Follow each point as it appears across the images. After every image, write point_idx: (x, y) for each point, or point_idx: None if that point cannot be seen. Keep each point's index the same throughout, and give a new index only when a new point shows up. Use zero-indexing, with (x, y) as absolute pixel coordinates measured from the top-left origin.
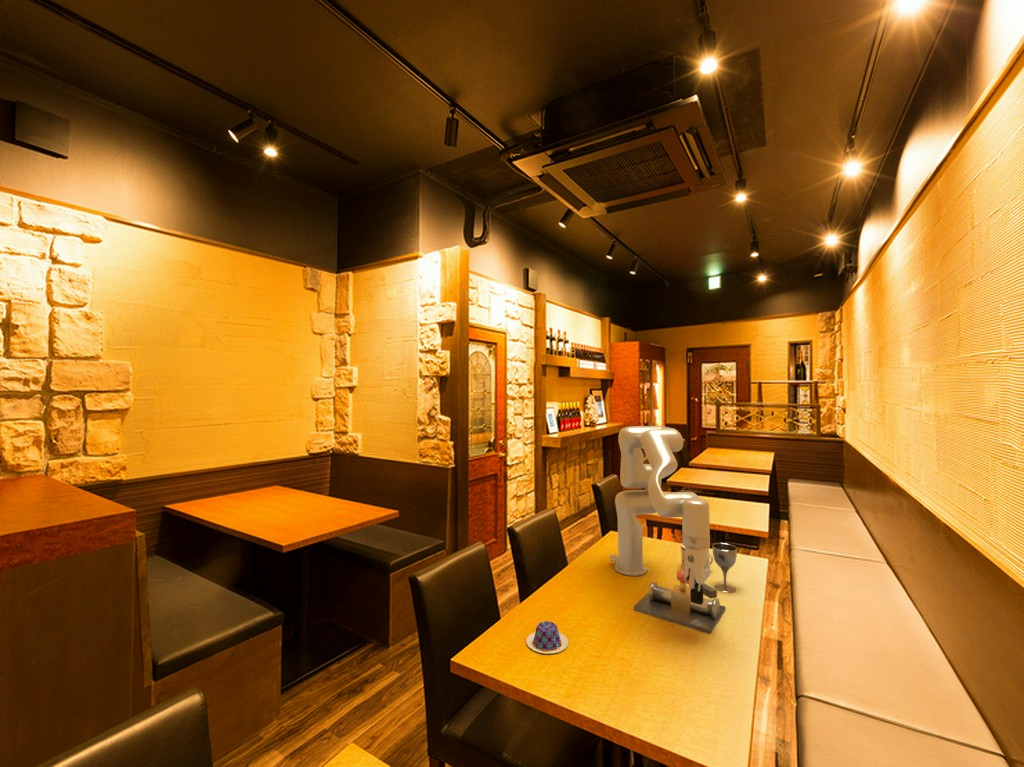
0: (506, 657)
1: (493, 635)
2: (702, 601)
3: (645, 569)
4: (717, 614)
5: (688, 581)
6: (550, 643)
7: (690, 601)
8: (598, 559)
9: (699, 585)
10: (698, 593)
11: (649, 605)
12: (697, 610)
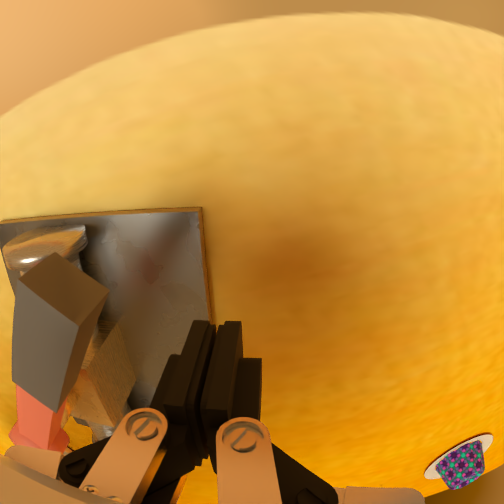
0: (499, 451)
1: None
2: (205, 329)
3: None
4: (55, 227)
5: (55, 425)
6: (481, 451)
7: (89, 348)
8: None
9: (274, 493)
10: (245, 409)
11: None
12: None
